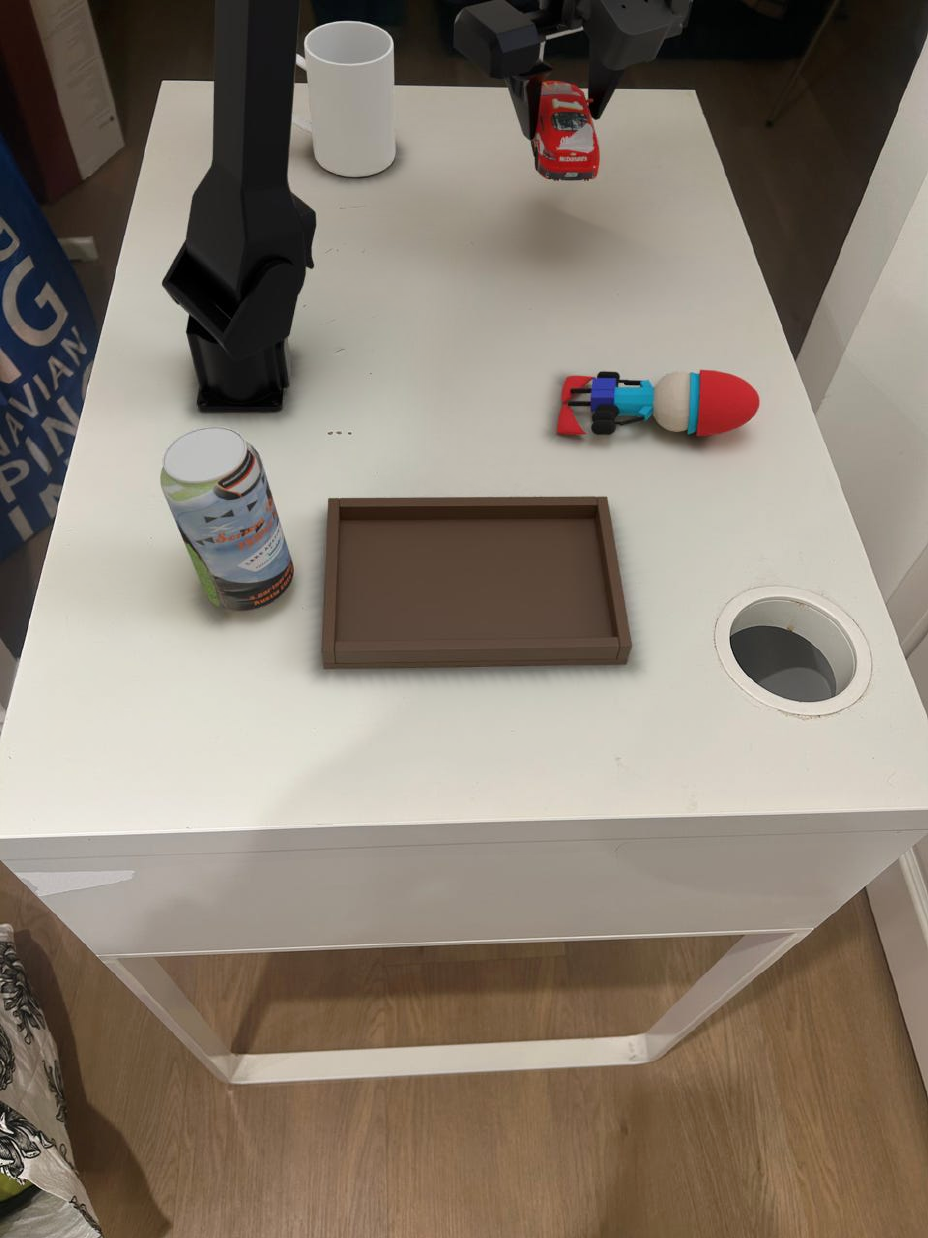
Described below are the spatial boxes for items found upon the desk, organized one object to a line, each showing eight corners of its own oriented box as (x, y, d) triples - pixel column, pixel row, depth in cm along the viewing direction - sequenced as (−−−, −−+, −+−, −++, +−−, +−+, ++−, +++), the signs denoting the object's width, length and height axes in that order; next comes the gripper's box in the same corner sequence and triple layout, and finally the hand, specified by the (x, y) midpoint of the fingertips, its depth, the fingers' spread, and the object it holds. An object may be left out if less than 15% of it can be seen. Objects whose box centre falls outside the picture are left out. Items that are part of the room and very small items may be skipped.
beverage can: (257, 638, 63) (228, 519, 53) (171, 587, 65) (127, 463, 55) (316, 573, 66) (298, 449, 56) (231, 527, 68) (200, 399, 58)
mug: (393, 132, 97) (391, 20, 89) (397, 177, 93) (395, 64, 84) (270, 133, 96) (256, 20, 88) (269, 179, 92) (253, 65, 83)
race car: (519, 104, 86) (523, 56, 83) (580, 104, 86) (586, 57, 83) (534, 189, 78) (539, 141, 75) (600, 190, 79) (608, 141, 75)
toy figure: (556, 457, 75) (757, 459, 73) (553, 405, 72) (765, 406, 69) (565, 396, 80) (754, 396, 77) (563, 345, 76) (761, 343, 74)
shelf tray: (323, 669, 62) (321, 651, 60) (330, 517, 69) (328, 497, 68) (626, 663, 63) (632, 646, 62) (602, 515, 70) (607, 495, 69)
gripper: (546, -17, 61) (522, 209, 74) (766, -71, 68) (709, 146, 80) (453, -85, 66) (446, 137, 79) (666, -129, 73) (627, 83, 86)
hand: (561, 127), depth 81 cm, fingers closed on race car, 6 cm apart
